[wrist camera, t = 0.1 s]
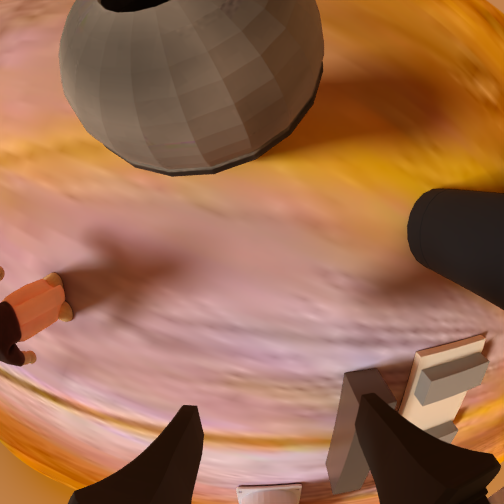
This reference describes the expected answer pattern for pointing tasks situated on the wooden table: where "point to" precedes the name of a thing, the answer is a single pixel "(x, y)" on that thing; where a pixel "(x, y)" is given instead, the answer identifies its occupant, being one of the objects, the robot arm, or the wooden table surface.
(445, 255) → the wine bottle
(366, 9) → the wooden table surface
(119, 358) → the wooden table surface
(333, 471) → the handle bar
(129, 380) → the wooden table surface
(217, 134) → the beverage cup
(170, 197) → the wooden table surface
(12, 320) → the grandmother figurine
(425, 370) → the stand
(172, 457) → the robot arm
